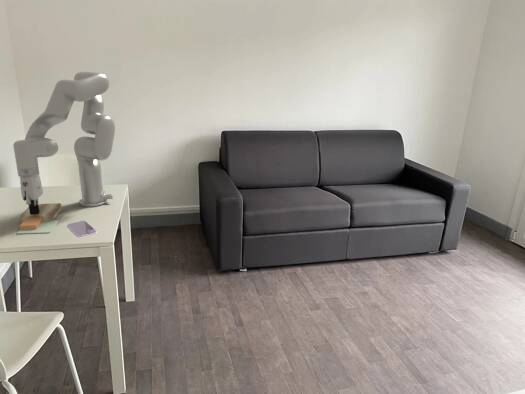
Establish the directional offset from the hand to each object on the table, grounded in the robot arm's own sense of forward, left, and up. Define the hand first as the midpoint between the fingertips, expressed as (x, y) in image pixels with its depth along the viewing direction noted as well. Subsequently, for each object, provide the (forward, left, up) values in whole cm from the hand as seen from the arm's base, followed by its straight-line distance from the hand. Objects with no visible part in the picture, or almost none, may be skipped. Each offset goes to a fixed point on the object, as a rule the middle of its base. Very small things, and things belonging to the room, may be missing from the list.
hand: (34, 213), depth 168 cm
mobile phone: (-20, +9, -4) cm, 22 cm away
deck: (0, -7, -4) cm, 8 cm away
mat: (-3, +6, -4) cm, 8 cm away
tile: (0, +4, -3) cm, 6 cm away
